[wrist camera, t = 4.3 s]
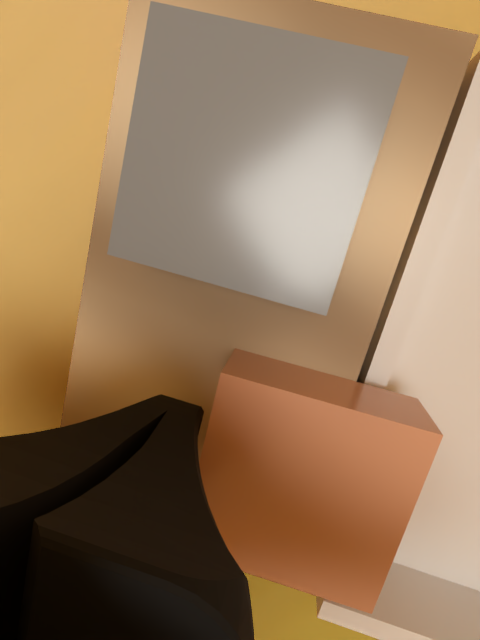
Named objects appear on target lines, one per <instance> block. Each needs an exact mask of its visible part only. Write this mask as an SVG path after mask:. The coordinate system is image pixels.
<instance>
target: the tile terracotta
mask: <svg viewBox="0 0 480 640" xmlns="http://www.w3.org/2000/svg"><path fill="white" fill-rule="evenodd" d="M442 438H443V434H442V433H441V431H440V430H439V428H438V427H437V425H436V424H435V423H434V421H433V420H432V418H431V417H430V415H429V414H428V413H427V411H426V410H425V408H424V407H423V405H422V404H421V402H420V401H419V400H418V398H414V397H411V396H407V395H403V394H400V393H396V392H393V391H389V390H385V389H382V388H378V387H374V386H371V385H367V384H363V383H360V382H356V381H353V380H349V379H345V378H342V377H338V376H334V375H331V374H327V373H324V372H320V371H316V370H313V369H309V368H305V367H302V366H298V365H295V364H291V363H287V362H284V361H280V360H276V359H273V358H269V357H265V356H262V355H258V354H255V353H251V352H247V351H244V350H240V349H236V348H235V349H234V351H233V353H232V354H231V356H230V358H229V359H228V361H227V363H226V364H225V366H224V368H223V370H222V371H221V374H220V378H219V382H218V386H217V390H216V394H215V399H214V403H213V407H212V411H211V415H210V420H209V424H208V428H207V432H206V436H205V440H204V445H203V449H202V453H201V457H200V461H199V466H200V472H201V478H202V482H203V486H204V491H205V494H206V497H207V501H208V504H209V507H210V510H211V512H212V515H213V517H214V520H215V522H216V525H217V527H218V530H219V532H220V534H221V536H222V538H223V540H224V542H225V544H226V546H227V548H228V550H229V552H230V553H231V555H232V556H233V558H234V559H235V561H236V562H237V564H238V565H239V567H240V569H241V570H242V571H243V572H246V573H249V574H252V575H255V576H258V577H261V578H264V579H267V580H270V581H273V582H276V583H279V584H282V585H285V586H288V587H291V588H294V589H297V590H300V591H303V592H306V593H309V594H312V595H315V596H318V597H321V598H324V599H327V600H330V601H333V602H336V603H339V604H342V605H346V606H349V607H352V608H355V609H358V610H361V611H364V612H367V613H370V614H372V612H373V610H374V607H375V605H376V602H377V600H378V597H379V595H380V592H381V590H382V587H383V585H384V582H385V580H386V577H387V575H388V572H389V570H390V567H391V565H392V562H393V560H394V557H395V555H396V552H397V550H398V547H399V545H400V542H401V540H402V537H403V535H404V532H405V530H406V527H407V525H408V522H409V520H410V517H411V515H412V512H413V510H414V507H415V505H416V502H417V500H418V497H419V495H420V492H421V490H422V487H423V485H424V482H425V480H426V478H427V475H428V473H429V470H430V468H431V465H432V463H433V460H434V458H435V455H436V453H437V450H438V448H439V445H440V443H441V440H442Z"/></svg>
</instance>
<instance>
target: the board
mask: <svg viewBox="0 0 480 640" xmlns="http://www.w3.org/2000/svg"><path fill="white" fill-rule="evenodd" d="M151 1H154V2H159V3H164V4H168V5H173V6H177V7H182V8H187V9H191V10H196V11H200V12H205V13H210V14H214V15H219V16H224V17H228V18H233V19H237V20H242V21H247V22H251V23H256V24H260V25H265V26H270V27H274V28H279V29H284V30H288V31H293V32H297V33H302V34H307V35H311V36H316V37H320V38H325V39H330V40H334V41H339V42H344V43H348V44H353V45H357V46H362V47H367V48H371V49H376V50H380V51H385V52H390V53H394V54H399V55H404V56H408V57H409V58H408V61H407V64H406V67H405V70H404V73H403V77H402V80H401V83H400V86H399V89H398V92H397V95H396V99H395V102H394V105H393V108H392V111H391V114H390V117H389V121H388V124H387V127H386V130H385V133H384V136H383V139H382V143H381V146H380V149H379V152H378V155H377V158H376V161H375V165H374V168H373V171H372V174H371V177H370V180H369V183H368V187H367V190H366V193H365V196H364V199H363V202H362V205H361V209H360V212H359V215H358V218H357V221H356V224H355V227H354V231H353V234H352V237H351V240H350V243H349V246H348V249H347V253H346V256H345V259H344V262H343V265H342V268H341V271H340V275H339V278H338V281H337V284H336V287H335V290H334V293H333V297H332V300H331V303H330V306H329V309H328V312H327V315H326V316H324V315H321V314H317V313H313V312H310V311H306V310H303V309H299V308H296V307H292V306H289V305H285V304H281V303H278V302H274V301H271V300H267V299H264V298H260V297H257V296H253V295H250V294H246V293H242V292H239V291H235V290H232V289H228V288H225V287H221V286H218V285H214V284H211V283H207V282H203V281H200V280H196V279H193V278H189V277H186V276H182V275H179V274H175V273H172V272H168V271H164V270H161V269H157V268H154V267H150V266H147V265H143V264H140V263H136V262H133V261H129V260H125V259H122V258H118V257H115V256H111V255H108V254H107V252H108V246H109V240H110V234H111V229H112V223H113V217H114V211H115V205H116V200H117V194H118V188H119V182H120V176H121V170H122V165H123V159H124V153H125V147H126V141H127V135H128V130H129V124H130V118H131V112H132V106H133V101H134V95H135V89H136V83H137V77H138V71H139V66H140V60H141V54H142V48H143V42H144V37H145V31H146V25H147V19H148V13H149V7H150V2H151ZM477 38H478V35H476V34H472V33H467V32H462V31H457V30H452V29H448V28H443V27H438V26H433V25H428V24H424V23H419V22H414V21H409V20H404V19H400V18H395V17H390V16H385V15H380V14H376V13H371V12H366V11H361V10H356V9H352V8H347V7H342V6H337V5H332V4H328V3H323V2H318V1H313V0H129V2H128V8H127V14H126V20H125V27H124V33H123V39H122V45H121V52H120V58H119V64H118V70H117V77H116V83H115V89H114V95H113V102H112V108H111V114H110V120H109V127H108V133H107V139H106V145H105V152H104V158H103V164H102V170H101V177H100V183H99V189H98V195H97V202H96V208H95V214H94V220H93V227H92V233H91V239H90V245H89V252H88V258H87V264H86V270H85V276H84V283H83V289H82V295H81V301H80V308H79V314H78V320H77V326H76V333H75V339H74V345H73V351H72V358H71V364H70V370H69V376H68V383H67V389H66V395H65V401H64V408H63V414H62V420H61V426H60V427H64V426H68V425H72V424H76V423H80V422H83V421H86V420H89V419H92V418H96V417H99V416H102V415H105V414H108V413H111V412H114V411H117V410H120V409H122V408H125V407H128V406H130V405H133V404H136V403H138V402H141V401H143V400H146V399H148V398H151V397H154V396H157V395H160V394H162V395H165V396H169V397H172V398H175V399H178V400H182V401H185V402H188V403H191V404H195V405H198V406H201V407H202V409H203V411H204V414H203V418H202V422H201V426H200V430H199V434H198V457H199V461H200V457H201V453H202V449H203V445H204V440H205V436H206V432H207V428H208V424H209V420H210V415H211V411H212V407H213V403H214V399H215V394H216V390H217V386H218V382H219V378H220V374H221V371H222V370H223V368H224V366H225V364H226V363H227V361H228V359H229V358H230V356H231V354H232V353H233V351H234V349H235V348H236V349H240V350H244V351H247V352H251V353H255V354H258V355H262V356H265V357H269V358H273V359H276V360H280V361H284V362H287V363H291V364H295V365H298V366H302V367H305V368H309V369H313V370H316V371H320V372H324V373H327V374H331V375H334V376H338V377H342V378H345V379H349V380H353V381H357V379H358V376H359V373H360V370H361V367H362V364H363V362H364V359H365V356H366V353H367V350H368V347H369V345H370V342H371V339H372V336H373V333H374V330H375V328H376V325H377V322H378V319H379V316H380V313H381V310H382V308H383V305H384V302H385V299H386V296H387V293H388V291H389V288H390V285H391V282H392V279H393V276H394V274H395V271H396V268H397V265H398V262H399V259H400V257H401V254H402V251H403V248H404V245H405V242H406V240H407V237H408V234H409V231H410V228H411V225H412V222H413V220H414V217H415V214H416V211H417V208H418V205H419V203H420V200H421V197H422V194H423V191H424V188H425V186H426V183H427V180H428V177H429V174H430V171H431V169H432V166H433V163H434V160H435V157H436V154H437V152H438V149H439V146H440V143H441V140H442V137H443V134H444V132H445V129H446V126H447V123H448V120H449V117H450V115H451V112H452V109H453V106H454V103H455V100H456V98H457V95H458V92H459V89H460V86H461V83H462V81H463V78H464V75H465V72H466V69H467V66H468V64H469V61H470V58H471V55H472V52H473V49H474V46H475V44H476V41H477Z"/></svg>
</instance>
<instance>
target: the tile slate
mask: <svg viewBox="0 0 480 640" xmlns="http://www.w3.org/2000/svg"><path fill="white" fill-rule="evenodd" d="M408 58H409V57H408V56H404V55H399V54H394V53H390V52H385V51H380V50H376V49H371V48H367V47H362V46H357V45H353V44H348V43H344V42H339V41H334V40H330V39H325V38H320V37H316V36H311V35H307V34H302V33H297V32H293V31H288V30H284V29H279V28H274V27H270V26H265V25H260V24H256V23H251V22H247V21H242V20H237V19H233V18H228V17H224V16H219V15H214V14H210V13H205V12H200V11H196V10H191V9H187V8H182V7H177V6H173V5H168V4H164V3H159V2H154V1H151V2H150V7H149V13H148V19H147V25H146V31H145V37H144V42H143V48H142V54H141V60H140V66H139V71H138V77H137V83H136V89H135V95H134V101H133V106H132V112H131V118H130V124H129V130H128V135H127V141H126V147H125V153H124V159H123V165H122V170H121V176H120V182H119V188H118V194H117V200H116V205H115V211H114V217H113V223H112V229H111V234H110V240H109V246H108V252H107V254H108V255H111V256H115V257H118V258H122V259H125V260H129V261H133V262H136V263H140V264H143V265H147V266H150V267H154V268H157V269H161V270H164V271H168V272H172V273H175V274H179V275H182V276H186V277H189V278H193V279H196V280H200V281H203V282H207V283H211V284H214V285H218V286H221V287H225V288H228V289H232V290H235V291H239V292H242V293H246V294H250V295H253V296H257V297H260V298H264V299H267V300H271V301H274V302H278V303H281V304H285V305H289V306H292V307H296V308H299V309H303V310H306V311H310V312H313V313H317V314H321V315H324V316H326V315H327V312H328V309H329V306H330V303H331V300H332V297H333V293H334V290H335V287H336V284H337V281H338V278H339V275H340V271H341V268H342V265H343V262H344V259H345V256H346V253H347V249H348V246H349V243H350V240H351V237H352V234H353V231H354V227H355V224H356V221H357V218H358V215H359V212H360V209H361V205H362V202H363V199H364V196H365V193H366V190H367V187H368V183H369V180H370V177H371V174H372V171H373V168H374V165H375V161H376V158H377V155H378V152H379V149H380V146H381V143H382V139H383V136H384V133H385V130H386V127H387V124H388V121H389V117H390V114H391V111H392V108H393V105H394V102H395V99H396V95H397V92H398V89H399V86H400V83H401V80H402V77H403V73H404V70H405V67H406V64H407V61H408Z"/></svg>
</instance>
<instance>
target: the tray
mask: <svg viewBox="0 0 480 640" xmlns="http://www.w3.org/2000/svg"><path fill="white" fill-rule="evenodd" d="M356 382H360V383H363V384H367V385H371V386H374V387H378V388H382V389H385V390H389V391H393V392H396V393H400V394H403V395H407V396H411V397H414V398H418V400H419V401H420V402H421V404H422V405H423V407H424V408H425V410H426V411H427V413H428V414H429V415H430V417H431V418H432V420H433V421H434V423H435V424H436V425H437V427H438V428H439V430H440V431H441V433H442V434H443V438H442V440H441V443H440V445H439V448H438V450H437V453H436V455H435V458H434V460H433V463H432V465H431V468H430V470H429V473H428V475H427V478H426V480H425V482H424V485H423V487H422V490H421V492H420V495H419V497H418V500H417V502H416V505H415V507H414V510H413V512H412V515H411V517H410V520H409V522H408V525H407V527H406V530H405V532H404V535H403V537H402V540H401V542H400V545H399V547H398V550H397V552H396V555H395V557H394V560H393V562H392V565H391V567H390V570H389V572H388V575H387V577H386V580H385V582H384V585H383V587H382V590H381V592H380V595H379V597H378V600H377V602H376V605H375V607H374V610H373V612H372V614H370V613H367V612H364V611H361V610H358V609H355V608H352V607H349V606H346V605H342V604H339V603H336V602H333V601H330V600H327V599H324V598H321V597H318V596H316V598H317V618H320V619H323V620H326V621H329V622H332V623H334V624H337V625H340V626H343V627H346V628H349V629H351V630H354V631H357V632H360V633H363V634H366V635H368V636H371V637H374V638H377V639H380V640H480V51H479V52H478V54H477V55H476V56H475V57H474V58H473V59H472V60H471V61H470V62H469V64H468V66H467V69H466V72H465V75H464V78H463V81H462V83H461V86H460V89H459V92H458V95H457V98H456V100H455V103H454V106H453V109H452V112H451V115H450V117H449V120H448V123H447V126H446V129H445V132H444V134H443V137H442V140H441V143H440V146H439V149H438V152H437V154H436V157H435V160H434V163H433V166H432V169H431V171H430V174H429V177H428V180H427V183H426V186H425V188H424V191H423V194H422V197H421V200H420V203H419V205H418V208H417V211H416V214H415V217H414V220H413V222H412V225H411V228H410V231H409V234H408V237H407V240H406V242H405V245H404V248H403V251H402V254H401V257H400V259H399V262H398V265H397V268H396V271H395V274H394V276H393V279H392V282H391V285H390V288H389V291H388V293H387V296H386V299H385V302H384V305H383V308H382V310H381V313H380V316H379V319H378V322H377V325H376V328H375V330H374V333H373V336H372V339H371V342H370V345H369V347H368V350H367V353H366V356H365V359H364V362H363V364H362V367H361V370H360V373H359V376H358V379H357V381H356Z"/></svg>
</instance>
